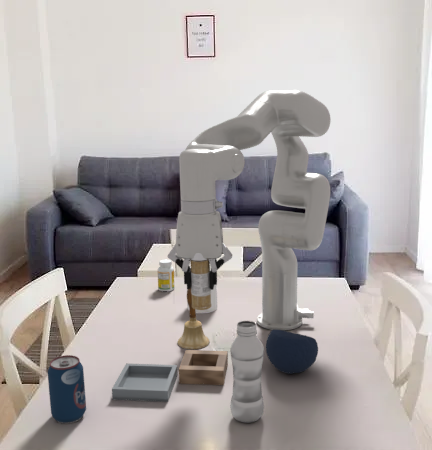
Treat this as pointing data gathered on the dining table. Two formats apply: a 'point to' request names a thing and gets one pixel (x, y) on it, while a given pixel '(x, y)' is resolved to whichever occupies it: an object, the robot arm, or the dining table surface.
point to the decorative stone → (291, 351)
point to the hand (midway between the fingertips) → (200, 286)
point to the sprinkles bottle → (200, 282)
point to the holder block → (203, 367)
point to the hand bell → (192, 330)
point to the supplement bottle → (165, 275)
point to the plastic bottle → (247, 373)
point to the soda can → (66, 389)
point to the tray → (145, 382)
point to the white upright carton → (213, 302)
